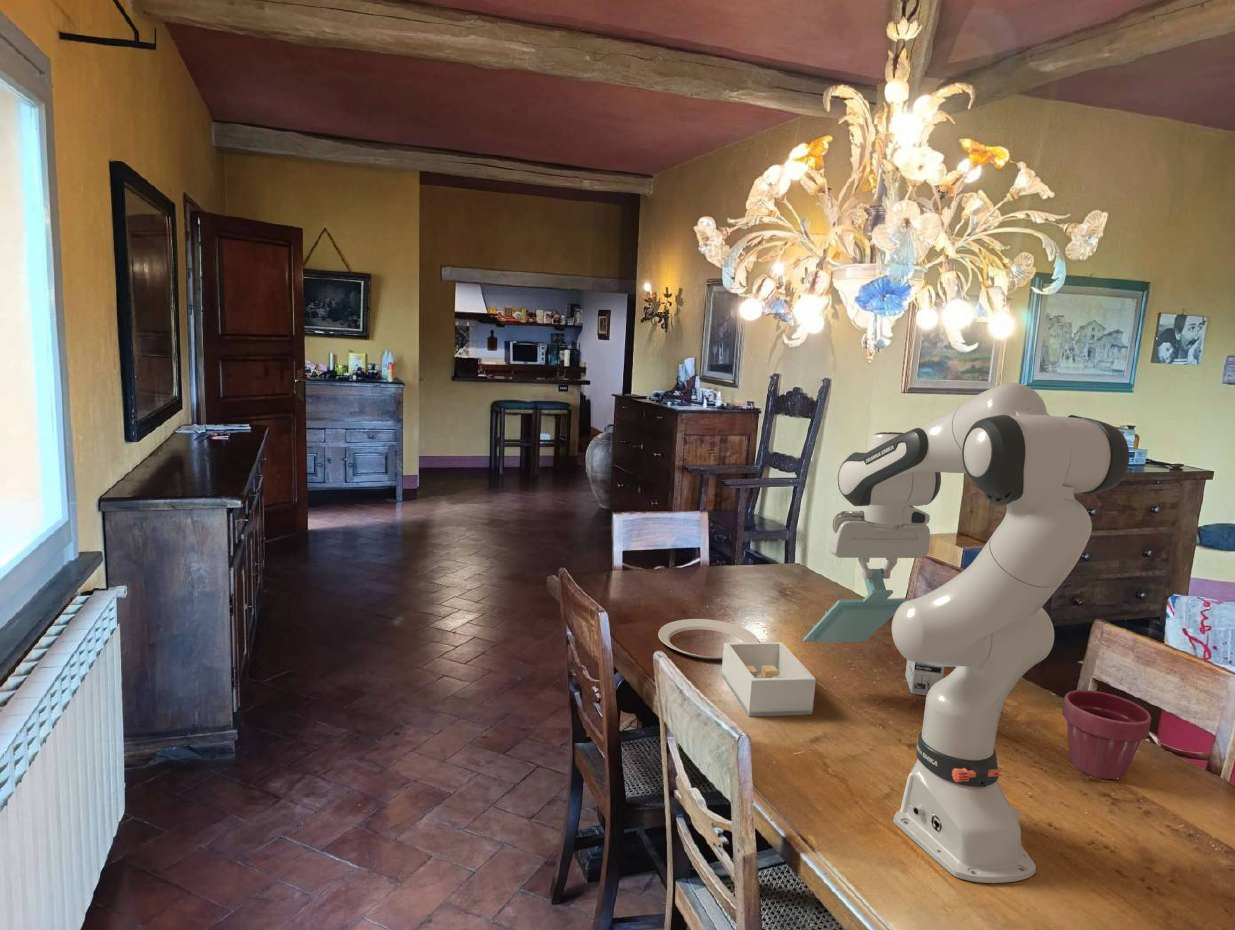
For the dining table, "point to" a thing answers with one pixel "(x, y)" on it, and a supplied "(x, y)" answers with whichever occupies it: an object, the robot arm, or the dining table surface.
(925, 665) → the light bulb box
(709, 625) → the beige flat ring
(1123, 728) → the plant pot
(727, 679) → the tub
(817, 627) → the lid
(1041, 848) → the dining table surface
